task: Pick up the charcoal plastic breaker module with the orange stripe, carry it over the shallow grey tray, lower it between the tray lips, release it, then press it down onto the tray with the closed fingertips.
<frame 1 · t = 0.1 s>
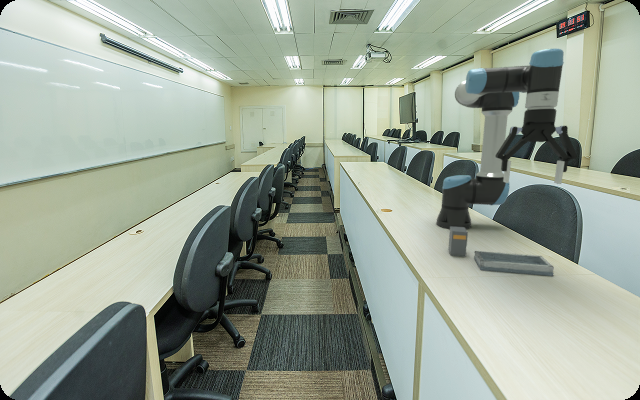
hand: (531, 182, 95), 28 cm above the table, fingers open, 13 cm apart
module: (456, 253, 115), on the table
shallow grey tray: (510, 266, 103), on the table
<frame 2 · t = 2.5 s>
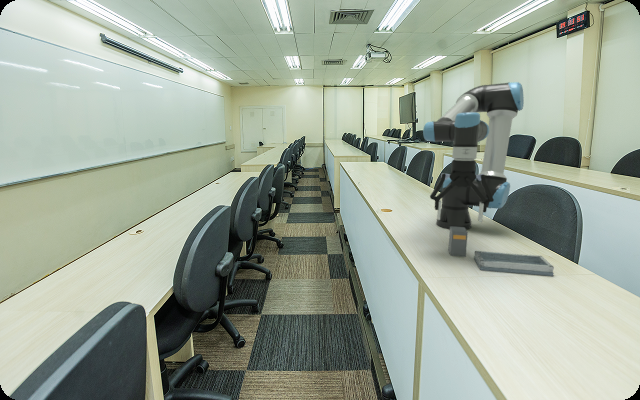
hand: (458, 220, 112), 12 cm above the table, fingers open, 13 cm apart
nothing on the table moved.
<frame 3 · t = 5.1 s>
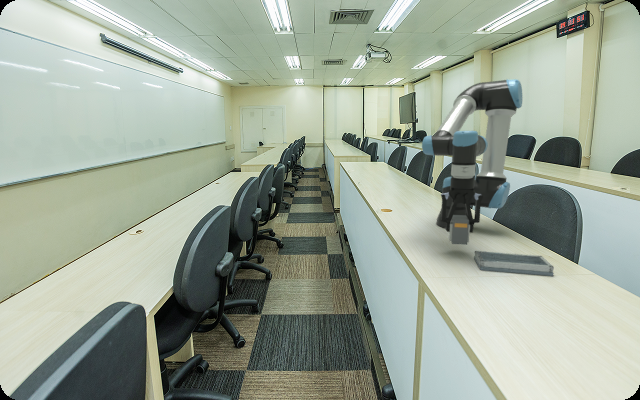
hand: (458, 240, 115), 5 cm above the table, fingers closed on module, 5 cm apart
module: (458, 241, 115), point 4 cm above the table, touching gripper
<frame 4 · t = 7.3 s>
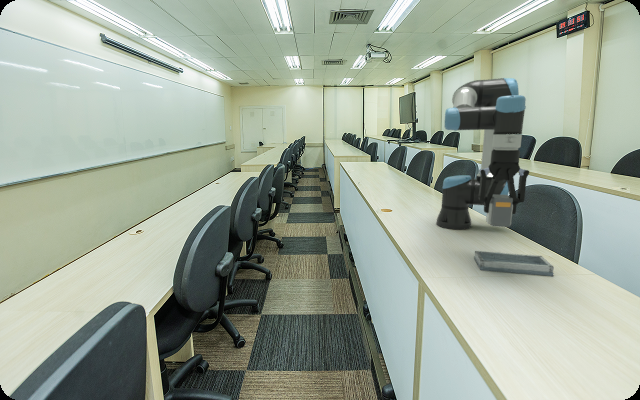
hand: (498, 222, 101), 14 cm above the table, fingers closed on module, 5 cm apart
module: (498, 224, 101), point 14 cm above the table, touching gripper
when the fingers open (2 cm above the table, at t = 9.6 s): module stays where it is, resting on shallow grey tray.
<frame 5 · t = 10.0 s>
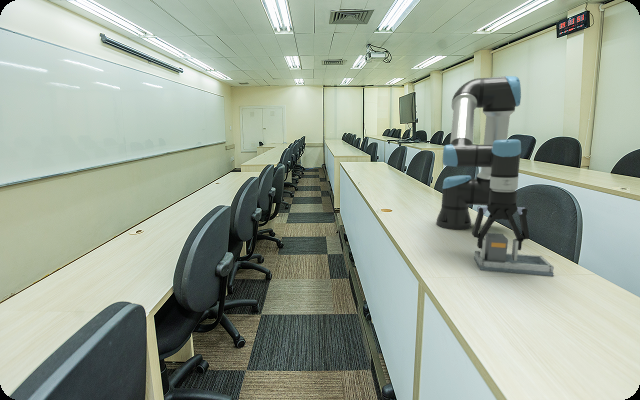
hand: (498, 258, 104), 2 cm above the table, fingers open, 9 cm apart
module: (493, 262, 104), point 1 cm above the table, touching shallow grey tray
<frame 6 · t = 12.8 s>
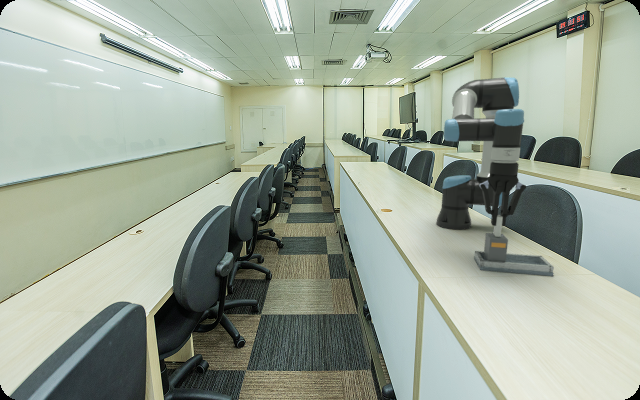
hand: (496, 235, 102), 10 cm above the table, fingers closed
module: (493, 262, 104), point 1 cm above the table, touching gripper, shallow grey tray
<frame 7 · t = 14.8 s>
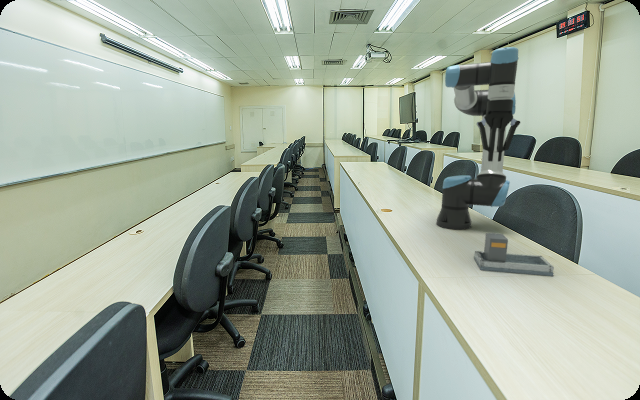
hand: (493, 170, 110), 30 cm above the table, fingers closed
module: (493, 262, 104), point 1 cm above the table, touching shallow grey tray
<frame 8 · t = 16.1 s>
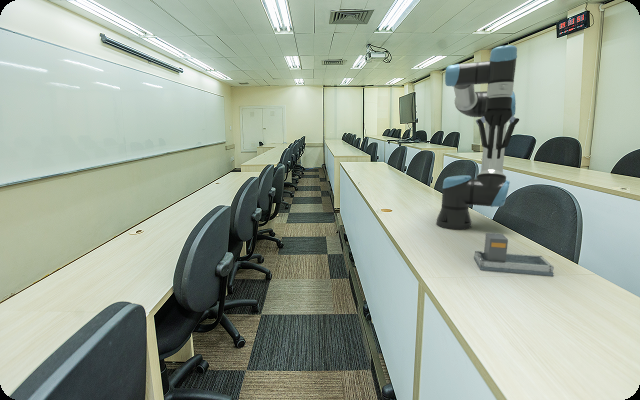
hand: (492, 168, 110), 30 cm above the table, fingers closed
nothing on the table moved.
at the end: module inside the target area on the shallow grey tray (5.0 cm from its centre), point 1.0 cm above the shallow grey tray's base; module tilted 0°; the gripper is holding nothing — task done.
